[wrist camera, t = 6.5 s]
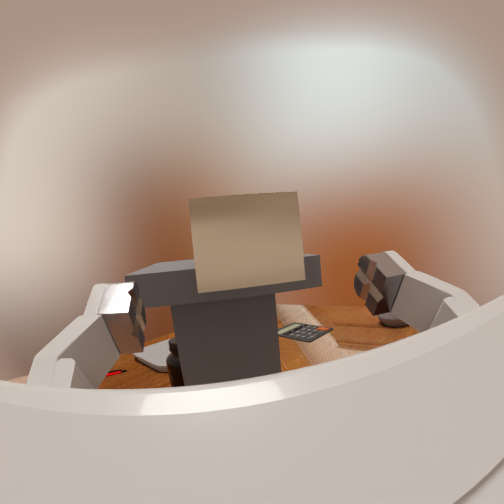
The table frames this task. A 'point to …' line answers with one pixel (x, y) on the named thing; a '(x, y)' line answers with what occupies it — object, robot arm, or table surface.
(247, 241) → the maple bar
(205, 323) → the charcoal stand
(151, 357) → the tablet
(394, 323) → the coffee pot
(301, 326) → the calculator
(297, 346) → the table surface
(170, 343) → the supplement bottle
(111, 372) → the pen
